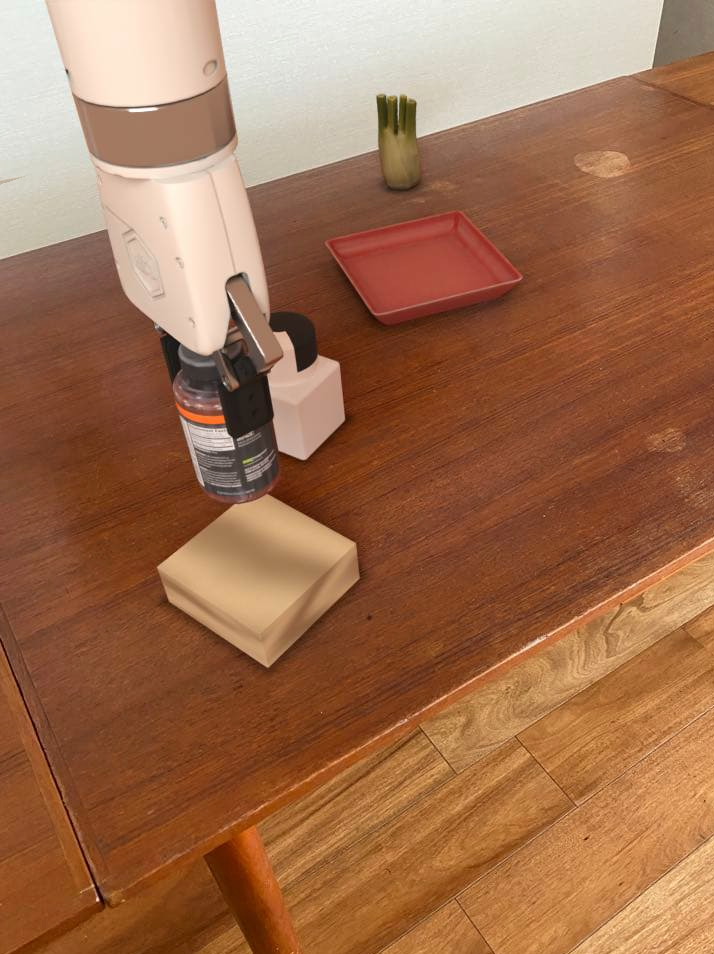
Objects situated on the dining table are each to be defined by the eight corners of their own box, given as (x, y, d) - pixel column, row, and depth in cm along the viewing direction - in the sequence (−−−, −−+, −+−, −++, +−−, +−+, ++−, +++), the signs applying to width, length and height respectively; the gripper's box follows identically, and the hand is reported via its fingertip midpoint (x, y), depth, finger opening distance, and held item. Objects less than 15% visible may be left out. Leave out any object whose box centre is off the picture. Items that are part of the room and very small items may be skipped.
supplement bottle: (229, 443, 64) (199, 309, 56) (298, 465, 63) (277, 330, 54) (181, 493, 61) (142, 358, 53) (253, 518, 59) (223, 383, 51)
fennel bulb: (375, 183, 121) (370, 92, 112) (404, 174, 123) (402, 84, 114) (397, 198, 118) (394, 106, 109) (427, 189, 120) (426, 97, 111)
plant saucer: (375, 340, 95) (374, 314, 92) (325, 263, 106) (322, 238, 104) (523, 304, 99) (526, 277, 97) (459, 233, 111) (460, 209, 108)
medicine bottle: (288, 399, 88) (271, 294, 79) (346, 421, 86) (336, 315, 77) (245, 439, 84) (222, 333, 75) (305, 463, 81) (288, 356, 73)
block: (268, 670, 65) (259, 634, 62) (169, 603, 70) (156, 567, 67) (360, 580, 71) (356, 543, 68) (263, 524, 76) (255, 487, 73)
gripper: (16, 92, 46) (109, 369, 60) (182, 199, 37) (248, 498, 51) (140, 57, 50) (202, 327, 63) (321, 148, 41) (349, 441, 54)
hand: (222, 401), depth 57 cm, fingers closed on supplement bottle, 6 cm apart
